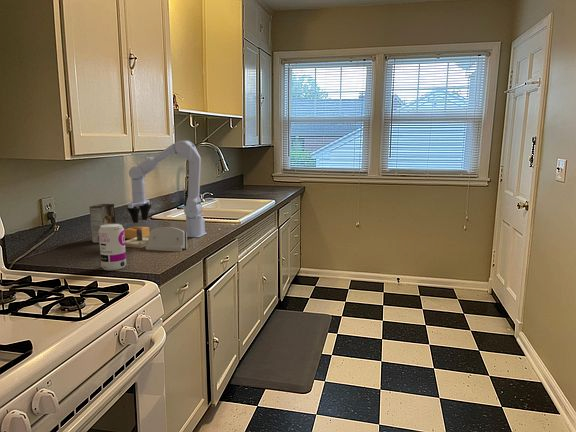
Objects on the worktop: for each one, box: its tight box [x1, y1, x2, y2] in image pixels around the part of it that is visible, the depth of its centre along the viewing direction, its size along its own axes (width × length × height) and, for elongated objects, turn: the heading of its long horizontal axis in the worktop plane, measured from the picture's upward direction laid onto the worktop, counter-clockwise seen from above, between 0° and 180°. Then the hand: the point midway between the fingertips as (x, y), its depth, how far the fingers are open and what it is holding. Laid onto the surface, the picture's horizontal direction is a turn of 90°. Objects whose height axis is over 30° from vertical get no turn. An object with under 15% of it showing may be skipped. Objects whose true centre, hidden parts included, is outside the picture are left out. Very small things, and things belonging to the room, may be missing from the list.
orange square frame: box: [124, 226, 151, 240], centre depth 204 cm, size 8×8×4 cm
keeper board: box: [125, 229, 149, 249], centre depth 190 cm, size 14×10×6 cm
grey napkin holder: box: [145, 226, 188, 252], centre depth 181 cm, size 17×5×10 cm, turn 77°
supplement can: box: [99, 223, 127, 271], centre depth 153 cm, size 8×8×15 cm
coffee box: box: [89, 203, 116, 244], centre depth 196 cm, size 9×6×16 cm
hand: (140, 221), depth 206 cm, fingers open, 7 cm apart
